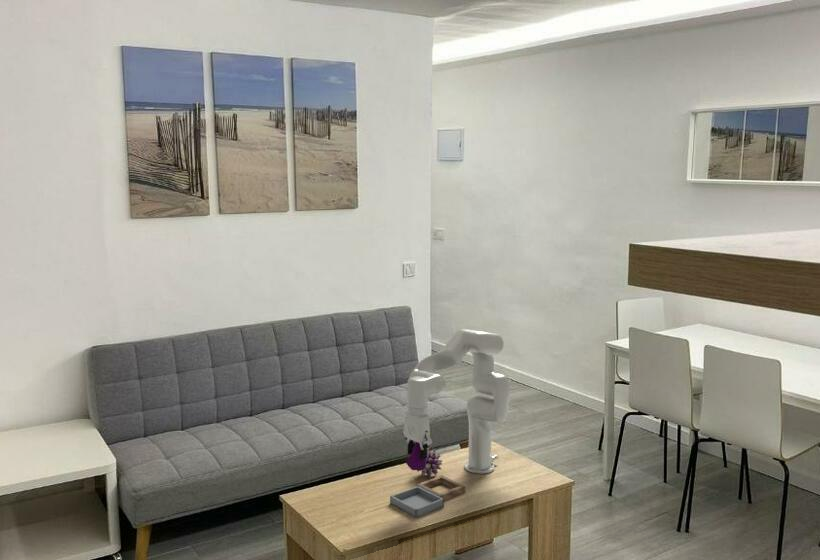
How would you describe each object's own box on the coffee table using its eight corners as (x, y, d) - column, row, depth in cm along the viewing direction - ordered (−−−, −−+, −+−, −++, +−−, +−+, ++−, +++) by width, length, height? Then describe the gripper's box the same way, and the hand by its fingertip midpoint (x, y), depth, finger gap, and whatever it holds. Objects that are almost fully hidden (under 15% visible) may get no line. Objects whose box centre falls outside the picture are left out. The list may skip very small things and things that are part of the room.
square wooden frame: (441, 481, 302) (441, 475, 302) (465, 492, 292) (465, 486, 292) (416, 490, 293) (416, 484, 293) (439, 502, 283) (439, 496, 283)
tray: (417, 493, 291) (417, 485, 290) (443, 506, 280) (444, 499, 279) (390, 503, 282) (390, 496, 281) (415, 517, 271) (415, 509, 270)
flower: (448, 475, 308) (448, 448, 306) (429, 484, 299) (429, 456, 297) (427, 467, 315) (427, 441, 313) (408, 476, 306) (408, 449, 305)
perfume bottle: (429, 465, 281) (426, 418, 280) (426, 471, 274) (422, 424, 272) (410, 465, 283) (407, 418, 281) (406, 471, 275) (403, 424, 274)
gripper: (394, 406, 279) (394, 451, 282) (425, 418, 266) (425, 465, 269) (410, 402, 284) (409, 447, 287) (440, 413, 271) (440, 460, 274)
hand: (417, 455), depth 278 cm, fingers closed on perfume bottle, 6 cm apart
